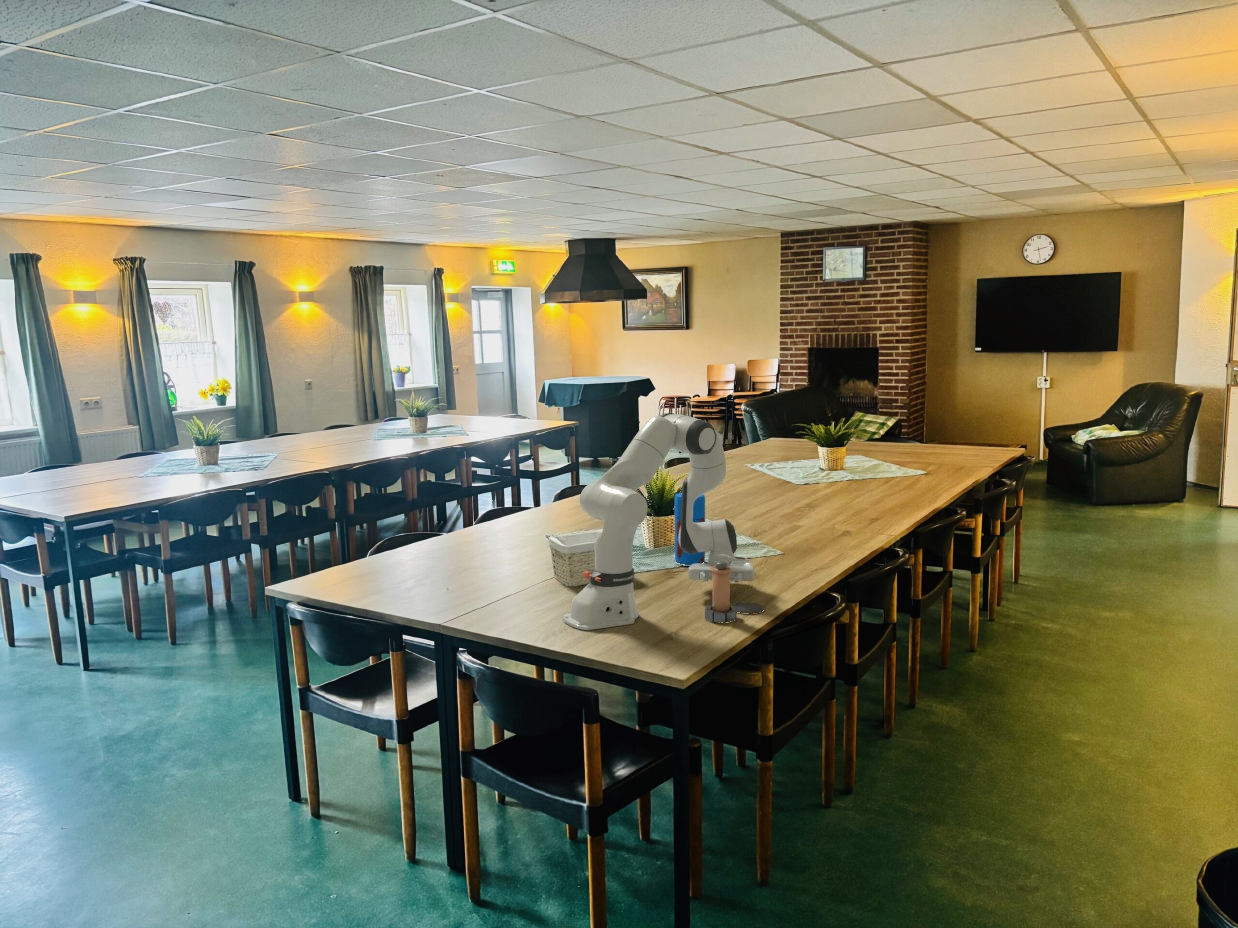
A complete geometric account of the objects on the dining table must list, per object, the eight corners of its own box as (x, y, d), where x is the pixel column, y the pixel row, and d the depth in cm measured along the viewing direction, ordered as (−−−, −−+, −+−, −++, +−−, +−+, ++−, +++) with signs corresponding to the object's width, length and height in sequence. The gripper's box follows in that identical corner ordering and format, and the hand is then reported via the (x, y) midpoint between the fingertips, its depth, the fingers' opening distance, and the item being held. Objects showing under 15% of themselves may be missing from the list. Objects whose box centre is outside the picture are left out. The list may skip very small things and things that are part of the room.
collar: (718, 625, 249) (718, 615, 249) (699, 617, 257) (699, 607, 257) (743, 619, 254) (743, 609, 254) (723, 611, 262) (723, 601, 261)
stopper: (719, 623, 252) (719, 566, 249) (706, 617, 257) (706, 562, 254) (735, 619, 255) (736, 563, 252) (722, 613, 260) (722, 559, 257)
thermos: (668, 563, 318) (668, 495, 315) (688, 557, 326) (688, 491, 322) (691, 568, 310) (691, 499, 307) (711, 562, 318) (711, 494, 314)
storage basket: (565, 589, 288) (564, 545, 285) (547, 577, 302) (546, 535, 300) (631, 579, 298) (630, 537, 296) (610, 568, 312) (610, 528, 310)
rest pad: (746, 616, 257) (746, 614, 257) (724, 608, 265) (724, 606, 265) (771, 610, 262) (771, 608, 262) (749, 602, 271) (749, 600, 271)
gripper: (688, 557, 280) (686, 568, 267) (753, 558, 278) (754, 569, 264) (688, 576, 281) (686, 588, 267) (753, 577, 279) (754, 590, 265)
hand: (721, 579), depth 266 cm, fingers open, 8 cm apart
